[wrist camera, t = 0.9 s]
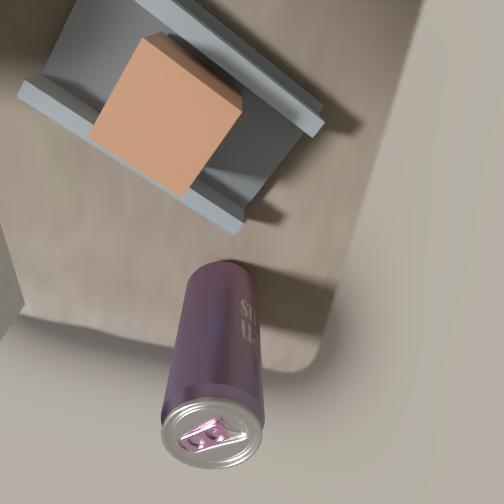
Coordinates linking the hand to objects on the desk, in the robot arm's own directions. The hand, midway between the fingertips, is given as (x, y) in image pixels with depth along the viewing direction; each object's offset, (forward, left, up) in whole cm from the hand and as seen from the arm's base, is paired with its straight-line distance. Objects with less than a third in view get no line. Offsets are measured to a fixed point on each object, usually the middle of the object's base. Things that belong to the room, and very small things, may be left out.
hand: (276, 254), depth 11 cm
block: (-4, -3, -21) cm, 21 cm away
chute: (-4, -3, -22) cm, 22 cm away
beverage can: (+7, -14, -22) cm, 27 cm away
